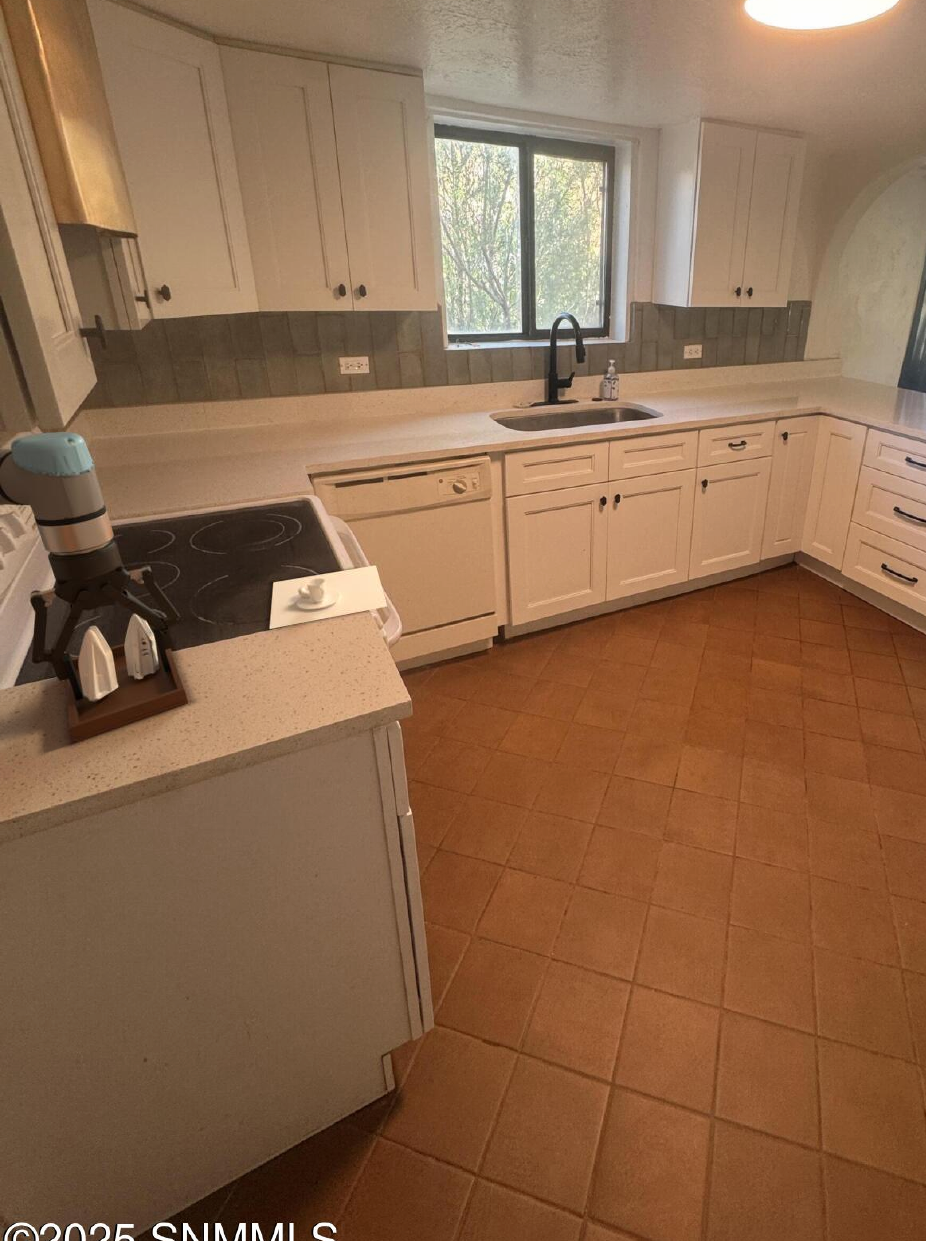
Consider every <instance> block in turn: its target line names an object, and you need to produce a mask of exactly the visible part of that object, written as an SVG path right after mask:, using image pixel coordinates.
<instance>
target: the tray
mask: <svg viewBox="0 0 926 1241" xmlns="http://www.w3.org/2000/svg"><path fill="white" fill-rule="evenodd" d="M154 638H155V636H154ZM155 643H156V639H155ZM124 644H125V642H124V643H121V644H117V645H114V646H111V647H110V646H109V647H110V649H111V651H112V655H113V660H114V666H115V672H116V678H117V683H118V688H116V689H115V690H114V691H112V692H110V693H109V694H107V695H105V696H104V697H102V698H101V699H99V700H97V701H95V702H93V701H90V700H89V699H88V698H86V697H85V696H84V695H83V699H80V700H76V697H75V694H74V692H73V689H72V686H71V683H70V681H69V679H67V680H65V682H66V684H65V686H66V700H67V714H68V715H67V716H68V717H67V718H68V729H69V732H70V735H71V738H72V739H73V742H74V743H78V742H80V741H83V740H86V739H89V738H92V737H95V736H98V735H100V734H103V733H106V732H109V731H112V730H115V729H117V728H120V727H123V726H125V725H129V724H133V723H135V722H137V721H141V720H143V719H146V718H149V717H152V716H155V715H157V714H160V713H163V712H166V711H169V710H172V709H175V708H178V707H181V706H183V705H186V704H188V703H189V699H188V696H187V692H186V689H185V686H184V683H183V680H182V677H181V675H180V672H179V669H178V667H177V666H178V665H177V663H176V661H175V658H174V654H173V652H172V648H170V649H167V650H165V651H166V655H167V658H168V662H169V665H170V669H171V671H168V672H165V670H164V667H163V664H162V660H161V657H160V653H159V650H158V646H157V643H156V650H157V656H158V663H159V669H158V670H157V671H156V672H155V673H149V674H147V675H144V676H143V678H142V679H138V678H135V679H136V680H135V679H134V676H132V675H130V676H129V675H128V670H127V663H126V656H125V648H124ZM71 659H72V662H73V665H74V667H75V670H76V673H77V676H78V679H79V682H80V685H81V687H82V684H81V678H80V672H79V665H78V661H79V656H76V657H71ZM136 671H137V670H136ZM137 673H139V672H137ZM82 692H83V690H82Z"/></svg>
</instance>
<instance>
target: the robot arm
mask: <svg viewBox="0 0 926 1241" xmlns="http://www.w3.org/2000/svg"><path fill="white" fill-rule="evenodd" d="M103 497H104V496H103V494H102V490H101V487H100V484H99V480H98V476H97V473H96V469H95V461H94V459H92V455H91V453H90V451H89V449H88V445H87V443H86V440H85V439H84V438H83V436H82V435H80V434H78V433H75V432H71V431H57V432H56V431H55V432H42V433H34V434H29V435H24V436H21V437H18V438H16V439H14V440H13V441H12V442H11V444H10V448H2V447H1V448H0V506H30V509H31V512H32V513H33V518H34V521H35V524H36V527H37V530H38V533H39V536H40V539H41V541H42V544H43V548H44V549H45V551H47V552H49V553H48V554H47V559H48V562H49V566H50V568H51V570H52V573H53V576H54V579H55V585H54V588H50V589H46V590H43V591H41V590H37V589H35V590H33V591H31V592H30V596H29V597H30V598H29V600H30V604H31V607H32V609H33V611H34V623H33V636H32V649H31V650H32V651H31V663H33V664H36V665H37V664H41V663H50V664H52V667H53V670H54V673H55V675H56V678H57V680H58V681H59V682H64V681H66V680H67V679H69V681H70V683H71V686H72V689H73V692H74V694H75V697H76V700H80V699H83V692H82V687H81V685H80V682H79V679H78V676H77V673H76V670H75V667H74V665H73V662H72V656H71V653H70V651H67V652H66V650H67V648H68V645H69V642H70V640H71V638H72V636H73V633H74V631H75V629H76V626H77V624H78V621H79V620H80V618H81V616H82V614H83V611H84V610H86V611H87V612H89V611H93V610H95V609H98V608H100V607H109V606H113V605H115V603H116V602H117V603H119V604H120V605H121V606H122V607H124V608H127V609H128V610H129V611H131V612H132V613H133V614H134V613H135V614H136V615H138V616H139V617H141V618H142V619H143V620H145V621H146V622H147V623H148V625H149V626H150V625H151V626H152V627H153V628H152V632H153V635H154V636H155V639H156V643H157V646H158V650H159V653H160V657H161V660H162V664H163V667H164V670H165V672H168V671H171V669H170V665H169V662H168V658H167V655H166V651H165V650H167V649H172V648H173V647H174V643H173V639H172V636H171V632H170V631H171V630H170V629H171V628H172V627H174V626H176V625H179V624H181V622H182V618H181V616H180V614H179V612H178V611H177V610H178V609H176V607H175V606H174V605H173V604H172V602H171V601H170V599H169V598H168V597H167V595H166V593H165V592H163V590H162V589H161V587H160V586H159V585H158V583H157V582H156V581H155V579H154V573H153V570H152V568H151V566H150V565H147V564H146V565H143V566H141V568H139V569H133V570H128V569H127V568H126V567H125V566H124V564H123V561H122V558H121V554H120V551H119V548H118V544H117V542H116V541H115V540H114V536H115V535H114V531H113V528H112V525H111V524H112V523H111V521H110V520H111V519H110V517H109V514H108V511H107V508H106V505H105V502H104V498H103ZM131 580H135V581H136V583H137V584H138V585H144V587H145V589H146V591H147V592H148V593H149V594H150V596H151V598H152V599H154V601H155V603H156V604H157V605H158V606H159V608H160V609H161V610H162V611H163V612H164V614H165V615H166V616H165V617H163V616H161V615H160V614H158V613H157V612H156V611H154V610H153V609H151V607H149V606H148V605H146V604H145V603H143V602H142V601H141V600H139V599H138V598H136V597H135V596H134V595H133V594H131V592H129V591H128V590H127V589H126V588H127V587H128V585H129V583H130V581H131ZM55 598H59V599H60V600H62V601H64V602H66V603H67V604H68V607H67V610H66V613H65V615H64V617H63V620H62V622H61V625H60V627H59V630H58V632H57V634H56V637H55V638H54V642H53V644H52V646H51V648H49V649H46V648H45V647H46V636H47V624H48V623H47V622H48V608H50V607H51V606H52V605H53V601H54V599H55Z"/></svg>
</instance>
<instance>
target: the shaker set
mask: <svg viewBox="0 0 926 1241" xmlns="http://www.w3.org/2000/svg"><path fill="white" fill-rule="evenodd" d="M124 643H125V644H124ZM124 643H123V644H124V648H125V656H126V663H127V670H128V675H129V676H130V675H132V676H134V679H135V678H138V679H142V678H143V676H144V675H147V674H149V673H155V672H156V671H157V670H158V669H159V663H158V656H157V650H156V643H155V638H154V632H153V630H152V628H151V627H150V624H149V623H148V622H146V621H145V620H143V619H142V618H141V617H139V616H138V615H136V614H135V613H134V612H133V614H132V615H131V617H130V619H129V623H128V626H127V630H126V634H125V638H124ZM78 657H79V661H78V665H79V672H80V678H81V684H82V690H83V695H84V696H85V697H86V698H88V699H89V700H90V701H93V702H95V701H97V700H99V699H101V698H102V697H104V696H105V695H107V694H109V693H110V692H112V691H114V690H115V689H116V688H118V683H117V678H116V672H115V666H114V660H113V655H112V651H111V649H110V645H109V644H108V642H107V640H106V638H105V636H104V635H103V634H102V632H101V631H100V629H99V628H98V627H97V626H96V625H91V626H88V628H87V630H86V631H85V632H84V636H83V638H82V643H81V647H80V651H79V656H78ZM136 670H137V671H136ZM137 672H139V673H137ZM135 680H136V679H135Z"/></svg>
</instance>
